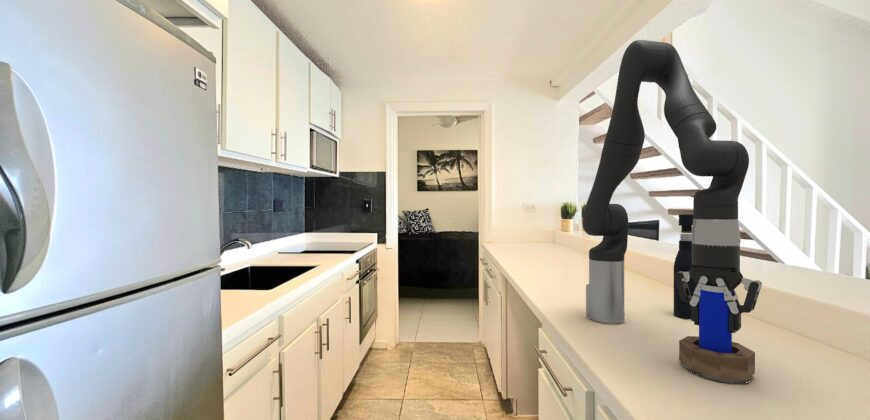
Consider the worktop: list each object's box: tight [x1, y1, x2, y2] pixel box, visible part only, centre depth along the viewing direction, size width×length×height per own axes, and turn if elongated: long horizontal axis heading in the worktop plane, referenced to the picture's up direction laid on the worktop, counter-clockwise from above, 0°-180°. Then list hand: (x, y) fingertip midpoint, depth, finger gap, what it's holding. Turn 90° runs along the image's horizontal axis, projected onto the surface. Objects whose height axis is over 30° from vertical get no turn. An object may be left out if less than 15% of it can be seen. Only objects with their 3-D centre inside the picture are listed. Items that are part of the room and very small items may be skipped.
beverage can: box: [698, 285, 733, 353], centre depth 72 cm, size 5×5×15 cm
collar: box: [678, 335, 756, 384], centre depth 72 cm, size 11×11×5 cm
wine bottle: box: [673, 213, 697, 320], centre depth 107 cm, size 6×6×30 cm
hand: (715, 327), depth 72 cm, fingers closed on beverage can, 5 cm apart
